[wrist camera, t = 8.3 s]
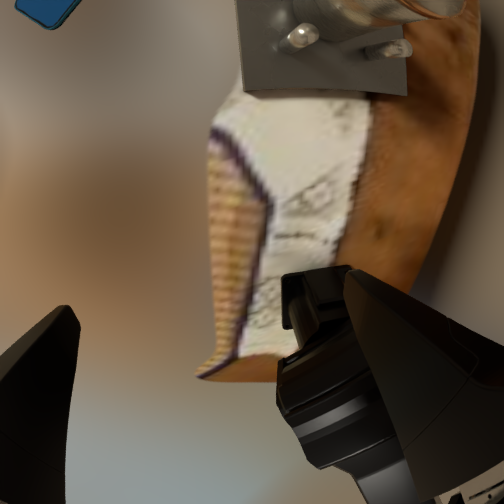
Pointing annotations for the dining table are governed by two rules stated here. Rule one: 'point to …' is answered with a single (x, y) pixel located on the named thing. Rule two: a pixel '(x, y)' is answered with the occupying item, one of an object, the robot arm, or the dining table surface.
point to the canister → (369, 15)
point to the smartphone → (47, 11)
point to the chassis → (315, 53)
